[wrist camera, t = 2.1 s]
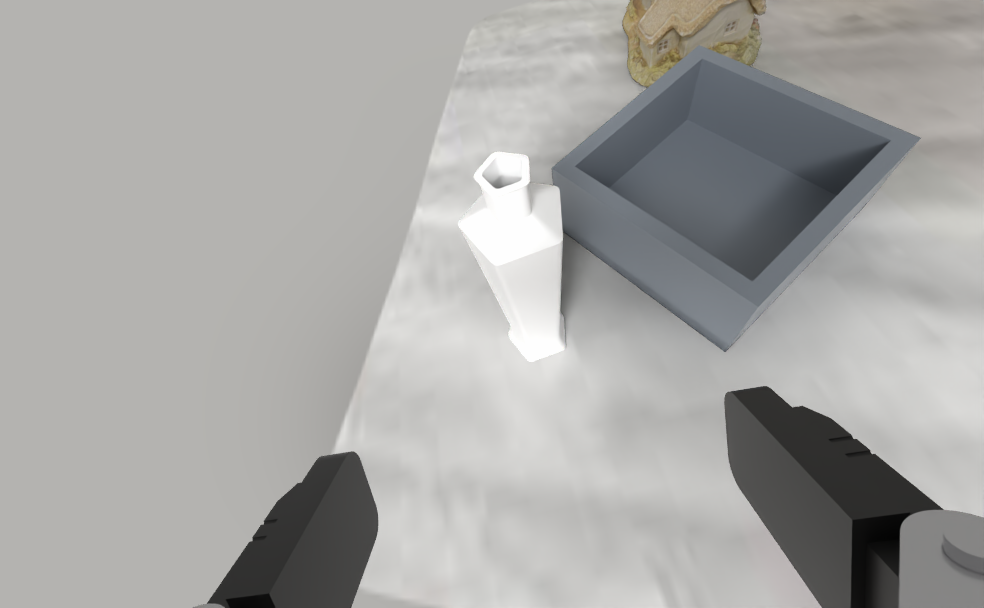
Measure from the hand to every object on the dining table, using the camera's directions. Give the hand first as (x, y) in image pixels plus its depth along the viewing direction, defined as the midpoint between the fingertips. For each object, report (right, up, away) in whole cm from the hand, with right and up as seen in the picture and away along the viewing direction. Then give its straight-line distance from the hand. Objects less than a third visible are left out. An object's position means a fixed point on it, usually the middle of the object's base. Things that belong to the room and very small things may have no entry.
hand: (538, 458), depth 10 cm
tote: (+13, +9, +22) cm, 27 cm away
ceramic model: (+16, +26, +31) cm, 44 cm away
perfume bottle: (+2, +1, +20) cm, 20 cm away
